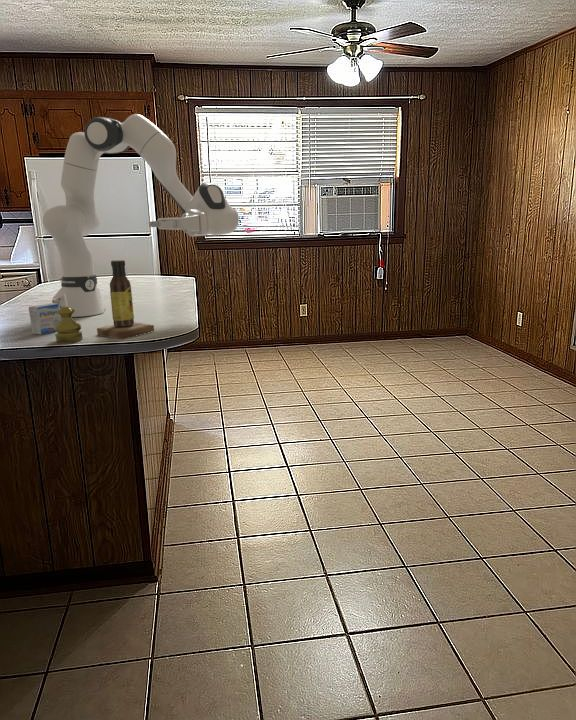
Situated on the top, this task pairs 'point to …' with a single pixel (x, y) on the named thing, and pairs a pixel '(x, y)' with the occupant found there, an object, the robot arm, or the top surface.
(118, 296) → the sauce bottle
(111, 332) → the walnut tray
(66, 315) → the gold stacked ornament
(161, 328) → the top surface
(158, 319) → the top surface
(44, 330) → the medicine box
